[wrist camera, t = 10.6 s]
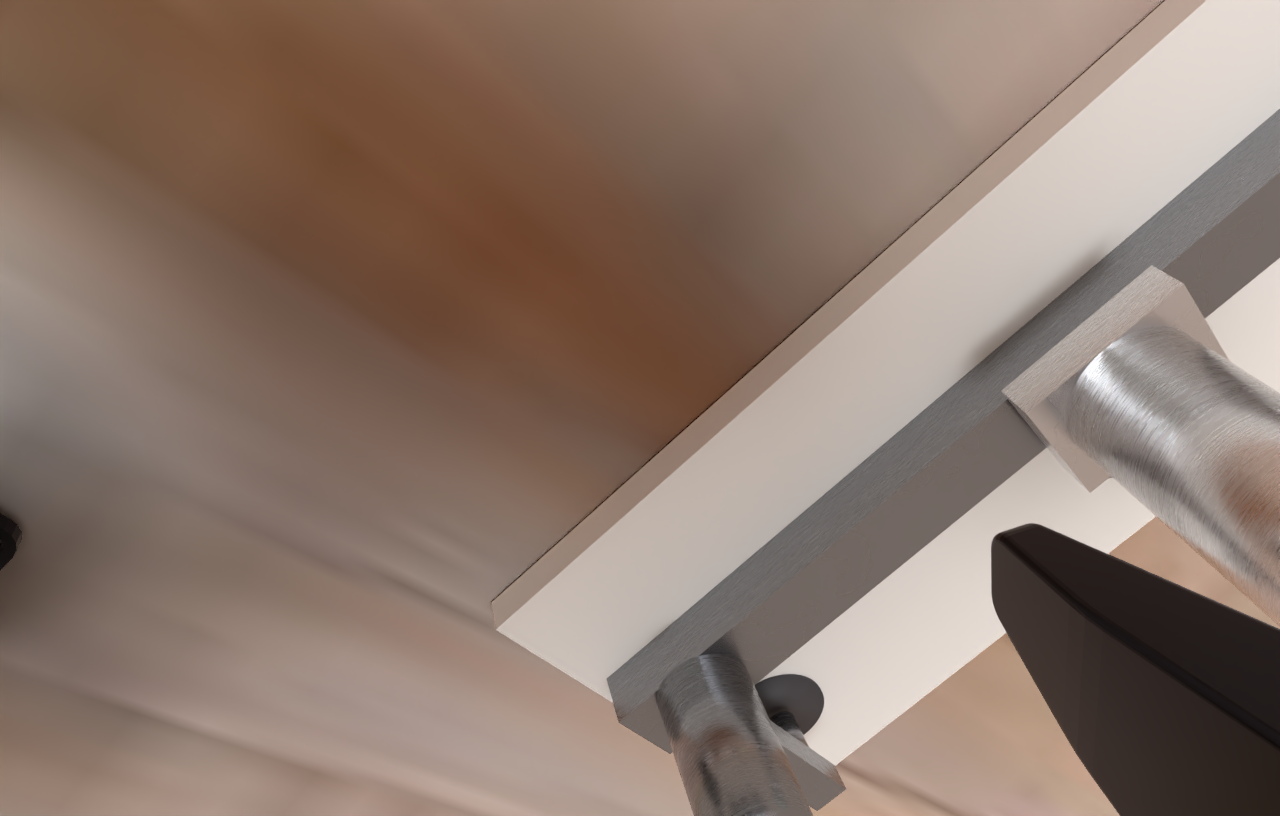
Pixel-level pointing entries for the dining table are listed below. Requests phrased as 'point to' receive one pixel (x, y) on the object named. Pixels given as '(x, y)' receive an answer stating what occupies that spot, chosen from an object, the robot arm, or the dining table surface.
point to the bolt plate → (921, 390)
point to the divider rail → (906, 511)
